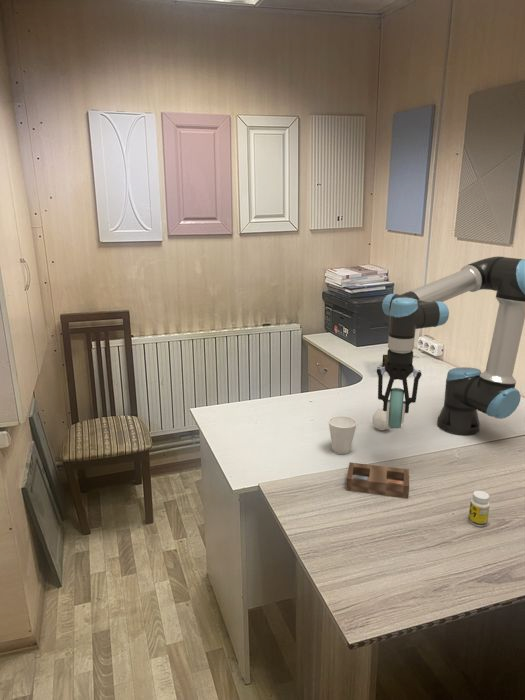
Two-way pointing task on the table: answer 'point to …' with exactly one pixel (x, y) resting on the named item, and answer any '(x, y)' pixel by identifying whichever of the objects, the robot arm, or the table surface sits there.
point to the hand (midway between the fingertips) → (394, 421)
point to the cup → (342, 433)
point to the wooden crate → (384, 361)
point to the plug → (395, 408)
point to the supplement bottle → (479, 508)
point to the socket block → (378, 480)
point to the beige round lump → (380, 420)
